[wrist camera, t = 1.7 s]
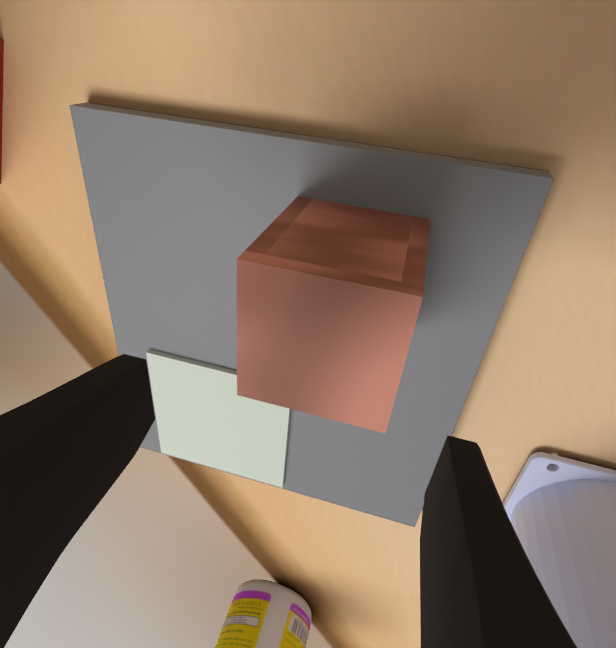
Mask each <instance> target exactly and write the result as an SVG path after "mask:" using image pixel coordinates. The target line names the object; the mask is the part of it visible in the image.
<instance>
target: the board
mask: <svg viewBox="0 0 616 648" xmlns="http://www.w3.org/2000/svg"><path fill="white" fill-rule="evenodd" d="M70 110H71V115H72V120H73V125H74V130H75V135H76V140H77V146H78V151H79V156H80V161H81V166H82V171H83V176H84V181H85V186H86V191H87V197H88V202H89V207H90V212H91V217H92V222H93V227H94V232H95V237H96V242H97V247H98V253H99V258H100V263H101V268H102V273H103V278H104V283H105V288H106V293H107V298H108V303H109V309H110V314H111V319H112V324H113V329H114V334H115V339H116V344H117V349H118V354H119V356H120V355H122V354H127V355H131V356H135V357H139V358H143V359H146V361H147V368H148V374H149V381H150V387H151V394H152V400H153V407H154V413H155V421H154V422H153V424H152V426H151V428H150V430H149V431H148V433H147V435H146V437H145V439H144V440H143V442H142V444H141V445H140V447H141V448H145V449H148V450H152V451H155V452H159V453H162V454H165V455H169V456H172V457H176V458H179V459H183V460H186V461H189V462H193V463H196V464H200V465H203V466H207V467H210V468H213V469H217V470H220V471H224V472H227V473H231V474H234V475H237V476H241V477H244V478H248V479H251V480H255V481H258V482H261V483H265V484H268V485H272V486H275V487H279V488H282V489H285V490H289V491H292V492H296V493H299V494H303V495H306V496H309V497H313V498H316V499H320V500H323V501H327V502H330V503H333V504H337V505H340V506H344V507H347V508H351V509H354V510H358V511H361V512H364V513H368V514H371V515H375V516H378V517H382V518H385V519H388V520H392V521H395V522H399V523H402V524H406V525H409V526H412V527H415V525H416V523H417V520H418V518H419V515H420V513H421V510H422V508H423V505H424V496H425V492H426V489H427V486H428V484H429V481H430V479H431V476H432V474H433V471H434V469H435V466H436V464H437V461H438V458H439V456H440V453H441V451H442V448H443V446H444V443H445V441H446V438H447V436H451V435H452V433H453V430H454V428H455V425H456V423H457V420H458V418H459V415H460V413H461V410H462V408H463V405H464V403H465V400H466V398H467V395H468V393H469V390H470V388H471V385H472V383H473V380H474V378H475V375H476V373H477V370H478V368H479V365H480V363H481V360H482V358H483V355H484V353H485V350H486V348H487V345H488V343H489V340H490V338H491V335H492V333H493V330H494V328H495V325H496V323H497V320H498V318H499V315H500V313H501V310H502V308H503V305H504V303H505V300H506V298H507V295H508V293H509V290H510V288H511V285H512V282H513V280H514V277H515V275H516V272H517V270H518V267H519V265H520V262H521V260H522V257H523V255H524V252H525V250H526V247H527V245H528V242H529V240H530V237H531V235H532V232H533V230H534V227H535V225H536V222H537V220H538V217H539V215H540V212H541V210H542V207H543V205H544V202H545V200H546V197H547V195H548V192H549V190H550V187H551V185H552V182H553V180H554V178H553V177H552V176H551V174H550V173H549V172H548V171H542V170H535V169H528V168H522V167H515V166H508V165H502V164H495V163H488V162H482V161H475V160H468V159H461V158H455V157H448V156H441V155H435V154H428V153H421V152H415V151H408V150H401V149H394V148H388V147H381V146H374V145H368V144H361V143H354V142H348V141H341V140H334V139H327V138H321V137H314V136H307V135H301V134H294V133H287V132H280V131H274V130H267V129H260V128H254V127H247V126H240V125H234V124H227V123H220V122H213V121H207V120H200V119H193V118H187V117H180V116H173V115H167V114H160V113H153V112H146V111H140V110H133V109H126V108H120V107H113V106H106V105H99V104H93V103H81V104H75V105H70ZM297 196H300V197H306V198H312V199H317V200H323V201H329V202H335V203H340V204H346V205H352V206H358V207H363V208H369V209H375V210H381V211H386V212H392V213H398V214H404V215H410V216H415V217H421V218H427V219H430V223H429V235H428V246H427V258H426V269H425V281H424V292H423V299H422V303H421V306H420V310H419V314H418V317H417V321H416V325H415V328H414V332H413V336H412V339H411V343H410V346H409V350H408V354H407V357H406V361H405V365H404V368H403V372H402V376H401V379H400V383H399V386H398V390H397V394H396V397H395V401H394V405H393V408H392V412H391V416H390V419H389V423H388V426H387V430H386V434H385V433H382V432H378V431H374V430H370V429H366V428H362V427H358V426H354V425H351V424H347V423H343V422H339V421H335V420H331V419H327V418H324V417H320V416H316V415H312V414H308V413H304V412H300V411H297V410H293V409H289V408H285V407H281V406H277V405H273V404H269V403H266V402H262V401H258V400H254V399H250V398H246V397H242V396H239V395H237V258H238V257H239V256H240V255H241V254H242V253H243V252H244V251H245V250H246V249H247V248H248V247H249V246H250V245H251V244H252V243H253V242H254V241H255V240H256V239H257V238H258V237H259V235H260V234H261V233H262V232H263V231H264V230H265V229H266V228H267V227H268V226H269V225H270V224H271V223H272V222H273V221H274V220H275V219H276V218H277V217H278V216H279V215H280V214H281V213H282V212H283V211H284V210H285V209H286V208H287V207H288V206H289V205H290V204H291V203H292V202H293V201H294V200H295V198H296V197H297Z"/></svg>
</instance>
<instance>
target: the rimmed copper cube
mask: <svg viewBox="0 0 616 648" xmlns="http://www.w3.org/2000/svg"><path fill="white" fill-rule="evenodd" d="M429 223H430V219H427V218H421V217H415V216H410V215H404V214H398V213H392V212H386V211H381V210H375V209H369V208H363V207H358V206H352V205H346V204H340V203H335V202H329V201H323V200H317V199H312V198H306V197H300V196H297V197H296V198H295V200H294V201H293V202H292V203H291V204H290V205H289V206H288V207H287V208H286V209H285V210H284V211H283V212H282V213H281V214H280V215H279V216H278V217H277V218H276V219H275V220H274V221H273V222H272V223H271V224H270V225H269V226H268V227H267V228H266V229H265V230H264V231H263V232H262V233H261V234H260V235H259V237H258V238H257V239H256V240H255V241H254V242H253V243H252V244H251V245H250V246H249V247H248V248H247V249H246V250H245V251H244V252H243V253H242V254H241V255H240V256H239V257H238V258H237V395H239V396H242V397H246V398H250V399H254V400H258V401H262V402H266V403H269V404H273V405H277V406H281V407H285V408H289V409H293V410H297V411H300V412H304V413H308V414H312V415H316V416H320V417H324V418H327V419H331V420H335V421H339V422H343V423H347V424H351V425H354V426H358V427H362V428H366V429H370V430H374V431H378V432H382V433H385V434H386V430H387V426H388V423H389V419H390V416H391V412H392V408H393V405H394V401H395V397H396V394H397V390H398V386H399V383H400V379H401V376H402V372H403V368H404V365H405V361H406V357H407V354H408V350H409V346H410V343H411V339H412V336H413V332H414V328H415V325H416V321H417V317H418V314H419V310H420V306H421V303H422V299H423V292H424V281H425V269H426V258H427V246H428V235H429Z"/></svg>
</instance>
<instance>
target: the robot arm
mask: <svg viewBox="0 0 616 648" xmlns="http://www.w3.org/2000/svg"><path fill="white" fill-rule="evenodd" d="M154 421H155V413H154V407H153V400H152V394H151V387H150V381H149V374H148V368H147V361H146V359H143V358H139V357H135V356H131V355H127V354H122V355H120V356H118V357H116V358H114V359H112V360H110V361H108V362H106V363H104V364H102V365H100V366H98V367H96V368H94V369H92V370H90V371H88V372H86V373H84V374H83V375H81V376H79V377H77V378H75V379H73V380H71V381H69V382H67V383H65V384H63V385H61V386H59V387H57V388H56V389H53V390H52V391H50V392H48V393H46V394H44V395H42V396H40V397H38V398H36V399H34V400H32V401H30V402H28V403H26V404H24V405H21V406H19V407H17V408H15V409H13V410H11V411H9V412H7V413H5V414H2V415H0V648H4V647H5V644H6V643H7V641H8V640H9V638H10V636H11V635H12V633H13V631H14V630H15V628H16V626H17V624H18V623H19V621H20V619H21V618H22V616H23V614H24V613H25V611H26V609H27V608H28V606H29V604H30V603H31V601H32V599H33V598H34V596H35V594H36V593H37V591H38V590H39V588H40V586H41V585H42V583H43V581H44V580H45V578H46V577H47V575H48V574H49V572H50V570H51V569H52V567H53V566H54V564H55V562H56V561H57V559H58V558H59V556H60V555H61V553H62V552H63V550H64V549H65V547H66V546H67V545H68V543H69V542H70V540H71V539H72V538H73V536H74V535H75V534H76V532H77V531H78V530H79V528H80V527H81V526H82V524H83V523H84V522H85V520H86V519H87V518H88V516H89V515H90V514H91V512H92V511H93V510H94V509H95V507H96V506H97V505H98V503H99V502H100V501H101V499H102V498H103V497H104V495H105V494H106V493H107V491H108V490H109V489H110V488H111V486H112V485H113V484H114V482H115V481H116V480H117V478H118V477H119V476H120V474H121V473H122V471H123V470H124V469H125V468H126V466H127V465H128V464H129V462H130V461H131V459H132V458H133V457H134V455H135V454H136V452H137V450H138V449H139V447H140V445H141V444H142V442H143V440H144V439H145V437H146V435H147V433H148V431H149V430H150V428H151V426H152V424H153V422H154ZM549 464H554V465H549ZM420 601H421V648H616V470H612V469H608V468H604V467H600V466H596V465H592V464H588V463H584V462H580V461H577V460H573V459H569V458H565V457H561V456H557V455H553V454H549V453H545V452H536V453H534V454H532V455H531V456H530V457H529V459H528V461H527V462H526V464H525V466H524V468H523V469H522V471H521V473H520V475H519V476H518V478H517V480H516V482H515V483H514V485H513V487H512V489H511V490H510V492H509V494H508V496H507V497H506V499H505V501H504V503H503V504H502V501H501V499H500V497H499V494H498V492H497V490H496V487H495V485H494V482H493V480H492V478H491V475H490V473H489V470H488V468H487V465H486V462H485V460H484V457H483V455H482V452H481V449H480V447H479V446H478V444H477V443H475V442H471V441H467V440H463V439H459V438H455V437H451V436H447V438H446V441H445V443H444V446H443V448H442V451H441V453H440V456H439V458H438V461H437V464H436V466H435V469H434V471H433V474H432V476H431V479H430V481H429V484H428V486H427V489H426V492H425V496H424V505H423V514H422V525H421V535H420Z"/></svg>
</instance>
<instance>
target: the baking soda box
mask: <svg viewBox="0 0 616 648" xmlns="http://www.w3.org/2000/svg"><path fill="white" fill-rule="evenodd" d="M3 43H4V40H3V39H2V38H0V184H1V162H2V102H3Z"/></svg>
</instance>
